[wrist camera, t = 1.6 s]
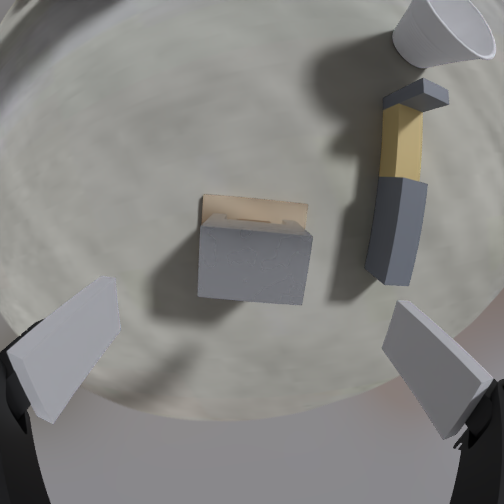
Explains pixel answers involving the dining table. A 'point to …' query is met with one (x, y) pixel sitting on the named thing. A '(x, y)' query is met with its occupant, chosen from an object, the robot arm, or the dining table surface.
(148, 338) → the dining table surface
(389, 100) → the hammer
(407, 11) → the cup
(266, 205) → the tan tabbed plate
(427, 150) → the dining table surface
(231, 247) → the grey block
